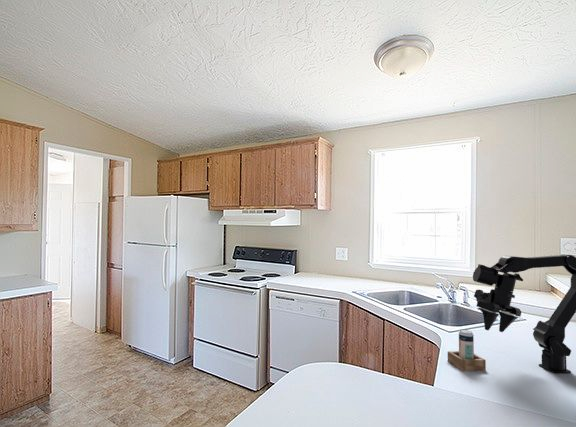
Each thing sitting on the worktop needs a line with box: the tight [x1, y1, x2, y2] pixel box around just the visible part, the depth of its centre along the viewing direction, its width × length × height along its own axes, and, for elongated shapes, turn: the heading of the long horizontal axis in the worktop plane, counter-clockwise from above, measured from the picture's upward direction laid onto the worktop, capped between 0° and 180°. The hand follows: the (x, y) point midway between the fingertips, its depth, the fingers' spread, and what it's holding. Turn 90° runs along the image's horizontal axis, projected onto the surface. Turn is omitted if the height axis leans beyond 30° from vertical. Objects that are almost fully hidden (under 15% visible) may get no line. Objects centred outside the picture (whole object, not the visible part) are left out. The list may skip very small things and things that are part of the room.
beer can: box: [458, 329, 475, 359], centre depth 114 cm, size 5×5×12 cm
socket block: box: [447, 350, 487, 372], centre depth 113 cm, size 8×8×4 cm
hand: (493, 330), depth 116 cm, fingers open, 9 cm apart
